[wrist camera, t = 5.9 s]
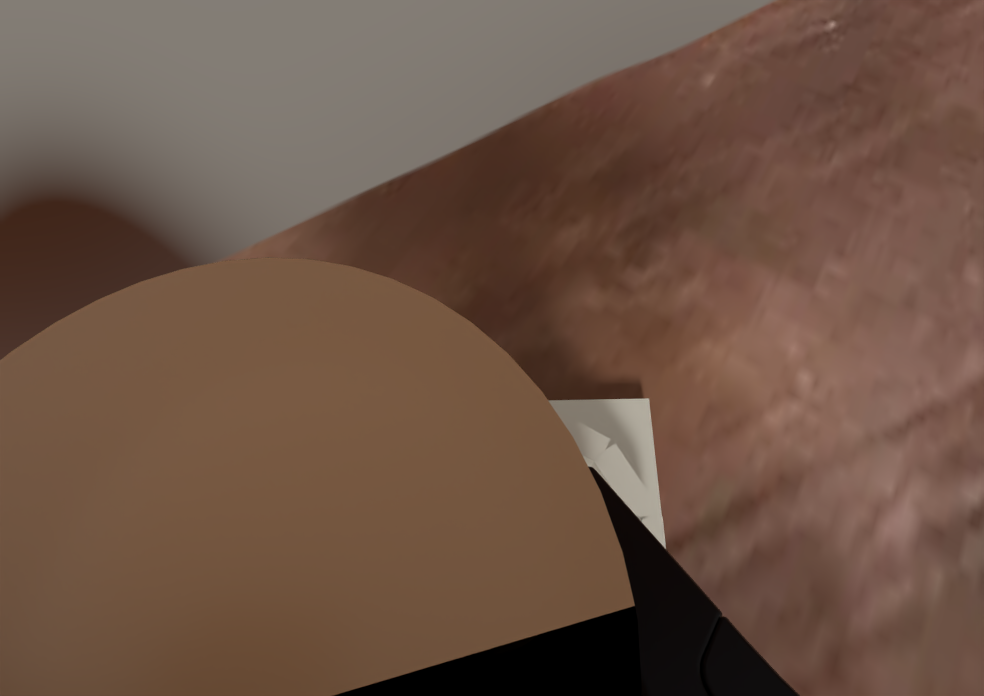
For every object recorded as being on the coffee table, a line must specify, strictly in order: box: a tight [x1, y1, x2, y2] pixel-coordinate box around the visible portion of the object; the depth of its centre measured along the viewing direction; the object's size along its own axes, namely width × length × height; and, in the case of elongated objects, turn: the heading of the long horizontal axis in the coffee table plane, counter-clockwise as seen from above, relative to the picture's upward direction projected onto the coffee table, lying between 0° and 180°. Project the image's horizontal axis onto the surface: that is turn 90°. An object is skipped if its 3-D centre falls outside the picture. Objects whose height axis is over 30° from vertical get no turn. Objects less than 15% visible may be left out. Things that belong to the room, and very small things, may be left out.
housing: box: [548, 399, 666, 549], centre depth 16 cm, size 19×12×6 cm, turn 0°
